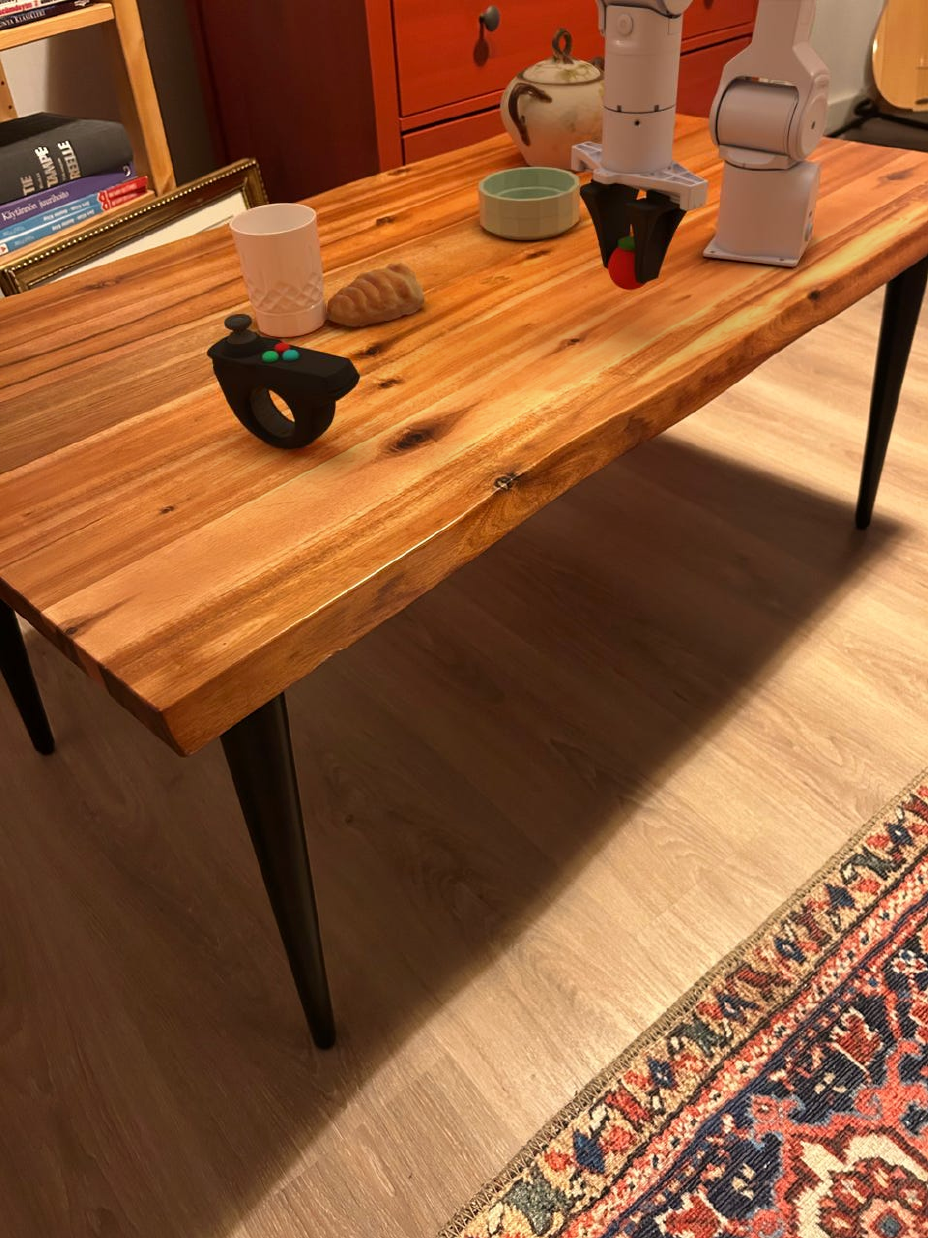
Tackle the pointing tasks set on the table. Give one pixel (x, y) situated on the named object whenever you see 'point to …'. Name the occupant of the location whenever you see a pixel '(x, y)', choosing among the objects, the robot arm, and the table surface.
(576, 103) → the cream ceramic round pot
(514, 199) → the bowl
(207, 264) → the table surface
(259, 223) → the white cup
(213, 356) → the controller
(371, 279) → the pastry
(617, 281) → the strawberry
